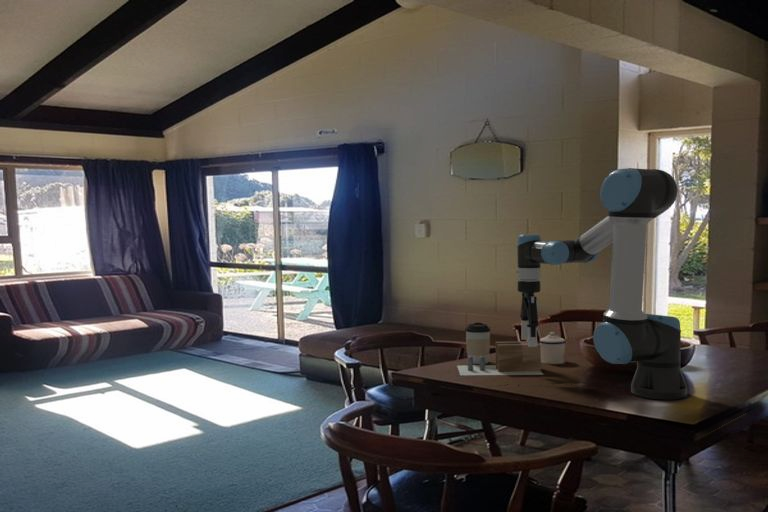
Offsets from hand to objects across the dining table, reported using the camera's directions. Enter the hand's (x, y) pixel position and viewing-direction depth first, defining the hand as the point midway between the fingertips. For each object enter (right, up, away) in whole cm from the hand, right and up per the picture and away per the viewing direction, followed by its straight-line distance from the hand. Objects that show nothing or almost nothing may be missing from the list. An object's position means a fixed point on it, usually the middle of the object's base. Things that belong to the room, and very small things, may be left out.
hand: (528, 343), depth 227 cm
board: (-10, -10, 0) cm, 14 cm away
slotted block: (-4, -9, 0) cm, 10 cm away
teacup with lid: (+11, -10, +15) cm, 21 cm away
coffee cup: (-15, -10, +15) cm, 23 cm away
